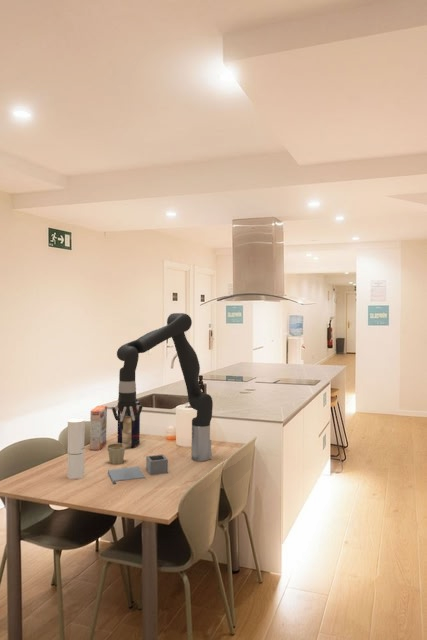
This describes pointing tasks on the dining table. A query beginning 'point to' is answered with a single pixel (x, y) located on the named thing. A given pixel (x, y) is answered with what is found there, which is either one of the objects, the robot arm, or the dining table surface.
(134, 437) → the grenade
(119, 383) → the robot arm
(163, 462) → the grey open box
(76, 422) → the cylindrical container
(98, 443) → the cracker box
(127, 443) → the dowel
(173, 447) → the dining table surface
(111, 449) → the flower pot
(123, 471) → the board
